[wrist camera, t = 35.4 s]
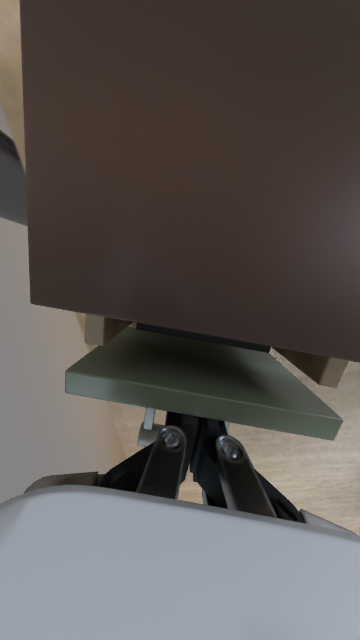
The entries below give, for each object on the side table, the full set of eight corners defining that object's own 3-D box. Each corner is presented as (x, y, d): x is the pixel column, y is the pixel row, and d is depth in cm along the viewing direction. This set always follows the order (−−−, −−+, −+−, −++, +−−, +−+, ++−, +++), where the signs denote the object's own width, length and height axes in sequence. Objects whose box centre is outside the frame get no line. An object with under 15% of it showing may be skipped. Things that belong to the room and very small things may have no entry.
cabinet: (279, 317, 15) (420, 374, 6) (124, 289, 15) (29, 304, 6) (353, 86, 11) (1038, -707, 2) (147, 48, 11) (-17, -913, 2)
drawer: (246, 417, 16) (293, 526, 9) (117, 394, 16) (62, 485, 9) (325, 169, 11) (557, -14, 4) (143, 137, 11) (70, -103, 4)
